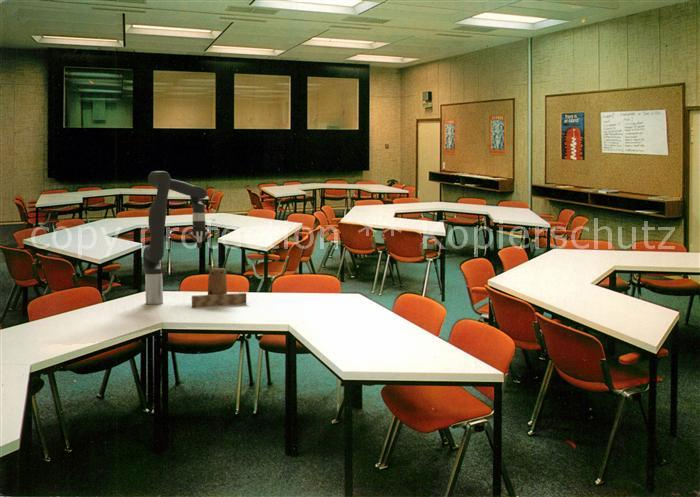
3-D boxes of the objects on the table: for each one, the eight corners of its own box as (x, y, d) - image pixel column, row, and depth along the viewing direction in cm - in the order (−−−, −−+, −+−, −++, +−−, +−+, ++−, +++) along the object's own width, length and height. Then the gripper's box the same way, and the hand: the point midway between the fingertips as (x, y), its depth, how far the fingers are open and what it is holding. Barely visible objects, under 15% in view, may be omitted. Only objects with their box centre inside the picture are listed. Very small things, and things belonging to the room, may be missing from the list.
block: (227, 301, 343) (226, 267, 342) (226, 303, 336) (226, 269, 334) (208, 301, 342) (207, 267, 340) (207, 304, 334) (206, 269, 333)
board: (192, 307, 325) (192, 296, 324) (191, 306, 328) (191, 295, 327) (246, 303, 336) (246, 293, 335) (245, 302, 339) (245, 292, 338)
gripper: (188, 220, 354) (188, 249, 356) (210, 220, 359) (211, 248, 360) (187, 220, 361) (187, 248, 363) (208, 219, 366) (209, 247, 367)
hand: (199, 248), depth 361 cm, fingers closed
